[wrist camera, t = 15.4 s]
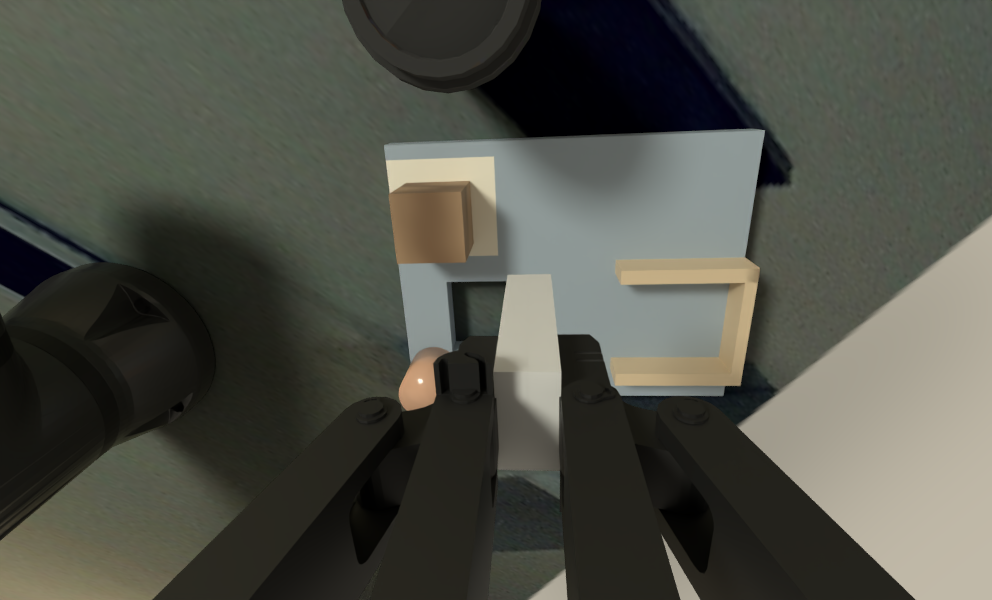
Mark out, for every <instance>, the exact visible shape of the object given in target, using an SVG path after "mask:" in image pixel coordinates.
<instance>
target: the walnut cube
mask: <svg viewBox="0 0 992 600" xmlns="http://www.w3.org/2000/svg"><path fill="white" fill-rule="evenodd" d="M389 201H390V209H391V217H392V226H393V234H394V242H395V250H396V258H397V264H417V263H466V261H467V259H468V256H469V254H470V251H471V249H472V247H473V244H474V240H473V224H472V207H471V191H470V181H450V182H419V183H405V184H404V185H402V186H401V187H399V188H397V189H396V190H394V191H393V192H391V193H390V194H389Z"/></svg>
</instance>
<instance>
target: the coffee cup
mask: <svg viewBox="0 0 992 600" xmlns="http://www.w3.org/2000/svg"><path fill="white" fill-rule="evenodd" d="M342 2H343V7H344V11H345V13H346V15H347V17H348V19H349V22H350V24H351V26H352V28H353V30H354V32H355V34H356V36H357V38H358V39H359V41H360V42H361V43H362V45H363V46H364V47H365V48H366V50H367V51H368V52H369V53H370V55H371V56H372V57H373V58H374V60H375V61H377V62H378V63H379V64H380V65H382V66H383V67H384V68H386V69H387V70H388V71H389V72H391V73H392V74H393V75H395V76H396V77H397V78H399V79H400V80H401V81H404V82H406V83H408V84H411V85H413V86H415V87H418V88H420V89H422V90H426V91H434V92H443V93H453V92H459V91H465V90H471V89H474V88H476V87H478V86H480V85H482V84H484V83H486V82H488V81H490V80H492V79H494V78H496V77H497V76H498V75H499V74H500V73H501V72H502V71H504V70H505V69H506V68H507V67H508V66H509V65H510V64H512V63H513V62H514V61H515V59H516V58H517V56H518V55H519V53H520V52H521V50H522V49H523V47H524V46H525V44H526V43H527V41H528V40H529V39H530V36H531V33H532V31H533V28H534V25H535V23H536V20H537V17H538V15H539V12H540V6H541V0H342Z"/></svg>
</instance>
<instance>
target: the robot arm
mask: <svg viewBox="0 0 992 600" xmlns="http://www.w3.org/2000/svg"><path fill="white" fill-rule="evenodd" d="M433 368H434V378H435V388H436V397H435V400H434V403H433V404H430V405H428V406H426V407H422V408H419V409H414V410H409V411H404V412H402V409H401V405H400V404H399V403H398V402H397V401H396V400H394V399H391V398H388V397H371V398H366V399H363V400H361V401H358V402H356V403H354V404H352V405H351V406H349V407H348V408H347V409H345V410H344V411H343V412H342V413H341V414H340V415H339V416H338V417H337V418H336V419H335V420H334V421H333V422H332V423H331V424H330V425H329V426H328V427H327V428H326V429H325V430H324V431H323V432H322V433H321V434H320V435H319V436H318V437H317V438H316V439H315V440H314V441H313V442H312V443H311V444H310V445H309V446H308V447H307V448H306V449H305V450H304V451H303V452H302V453H301V454H300V455H299V456H298V457H297V458H296V459H295V460H294V461H293V462H292V463H291V464H290V465H289V466H287V467H286V468H285V469H284V470H283V471H282V472H281V473H280V474H279V475H278V476H277V477H276V478H275V479H274V480H273V481H272V482H271V483H270V484H269V485H268V486H267V487H266V488H265V489H264V490H263V491H262V492H261V493H260V494H259V495H258V496H257V497H256V498H255V499H254V500H253V501H252V502H251V503H250V504H249V505H248V506H247V507H246V508H245V509H244V510H243V511H242V512H241V513H240V514H239V515H238V516H237V517H236V518H235V519H234V520H233V521H232V522H231V523H230V524H229V525H228V526H227V527H226V528H225V529H224V530H223V531H222V532H221V533H219V534H218V535H217V536H216V537H215V538H214V539H213V540H212V541H211V542H210V543H209V544H208V545H207V546H206V547H205V548H204V549H203V550H202V551H201V552H200V553H199V554H198V555H197V556H196V557H195V558H194V559H193V560H192V561H191V562H190V563H189V564H188V565H187V566H186V567H185V568H184V569H183V570H182V571H181V572H180V573H179V574H178V575H177V576H176V577H175V578H174V579H173V580H172V581H171V582H170V583H169V584H168V585H167V586H166V587H165V588H164V589H163V590H162V591H161V592H160V593H159V594H158V595H157V596H156V597H155V598H154V599H153V600H358V599H359V597H360V596H361V594H362V592H363V591H364V589H365V587H366V586H367V584H368V582H369V581H370V579H371V577H372V576H373V574H374V572H375V571H376V569H377V567H378V566H379V564H380V563H381V561H382V563H381V566H380V569H379V573H378V576H377V579H376V582H375V585H374V588H373V591H372V594H371V597H370V600H488V593H489V582H490V570H491V559H492V547H493V536H494V524H495V513H496V502H497V490H498V478H497V464H498V470H543V471H560V512H562V523H563V538H564V553H565V568H566V583H567V597H568V600H680V597H679V593H678V590H677V587H676V583H675V580H674V576H673V573H672V570H671V566H670V563H669V559H668V556H667V553H666V550H665V546H664V543H663V539H662V536H663V537H664V539H665V541H666V542H667V544H668V546H669V548H670V549H671V551H672V552H673V554H674V556H675V558H676V559H677V561H678V563H679V564H680V566H681V568H682V569H683V571H684V573H685V574H686V576H687V578H688V579H689V581H690V583H691V584H692V586H693V588H694V589H695V591H696V593H697V594H698V596H699V598H700V600H915V599H914V598H913V597H912V596H911V595H910V594H909V593H908V592H907V591H906V590H905V589H904V588H903V587H902V586H901V585H900V584H899V583H898V582H897V581H896V580H895V579H893V578H892V576H890V575H889V574H888V573H887V572H886V571H885V570H884V569H883V568H882V567H881V566H880V565H879V564H878V563H877V562H876V561H875V560H874V559H873V558H872V557H871V556H870V555H869V554H868V553H866V551H864V549H863V548H862V547H861V546H860V545H859V544H858V543H856V542H855V541H854V540H853V539H852V538H851V537H850V536H849V535H848V534H847V533H846V532H845V531H844V530H843V529H842V528H841V527H840V526H839V525H838V524H837V523H836V522H835V521H834V520H833V519H832V518H831V517H830V516H829V515H828V514H826V513H825V512H824V511H823V510H822V509H821V508H820V507H819V506H818V505H817V504H816V503H815V502H814V501H813V500H812V499H811V498H810V497H809V496H808V495H807V494H806V493H805V492H804V491H803V490H802V489H801V488H800V487H799V486H798V485H797V484H795V482H794V481H792V480H791V479H790V478H789V477H788V476H787V475H786V474H785V473H784V472H783V471H782V470H781V469H780V468H779V467H778V466H777V465H776V464H775V463H774V462H773V461H772V460H771V459H770V458H769V457H768V456H767V455H765V453H763V451H761V450H760V449H759V448H758V447H757V446H756V445H755V444H754V443H753V442H752V441H751V440H750V439H749V438H748V437H747V436H746V435H745V434H744V433H743V432H742V431H741V430H740V429H739V428H738V427H737V426H736V425H735V424H734V423H733V422H732V421H731V420H730V419H729V418H728V417H726V416H725V415H724V414H723V413H722V412H721V411H720V410H719V409H718V408H716V407H715V406H714V405H712V404H711V403H708V402H706V401H703V400H701V399H698V398H694V397H688V396H675V397H671V398H667V399H664V400H663V401H662V402H661V403H659V404H658V408H657V412H656V411H651V410H646V409H642V408H638V407H634V406H632V405H629V404H627V403H625V402H623V401H622V399H621V396H620V394H619V392H618V391H617V389H616V388H614V387H613V386H611V384H610V380H609V377H608V373H607V369H606V366H605V362H604V359H603V355H602V351H601V348H600V344H599V342H598V341H597V340H596V339H595V338H593V337H592V336H591V335H590V334H557V326H556V317H555V307H554V298H553V288H552V279H551V274H526V275H507V282H506V289H505V296H504V302H503V309H502V316H501V323H500V330H499V336H469V337H468V338H467V339H465V340H464V341H463V342H462V343H461V344H460V346H459V349H458V350H456V351H452V352H449V353H445V354H443V355H442V356H440V357H438V358H437V359H436V360H435V362H434V363H433ZM214 370H215V358H214V351H213V346H212V343H211V340H210V337H209V334H208V332H207V330H206V328H205V326H204V324H203V322H202V321H201V319H200V318H199V316H198V315H197V313H196V312H195V311H194V309H193V308H192V307H191V306H190V305H189V303H188V302H187V301H186V300H185V299H184V298H183V297H182V296H181V295H180V294H178V293H177V292H176V291H175V290H174V289H172V288H171V287H170V286H168V285H167V284H166V283H164V282H163V281H161V280H159V279H158V278H156V277H154V276H152V275H150V274H148V273H146V272H144V271H142V270H139V269H136V268H133V267H130V266H126V265H122V264H116V263H105V262H100V263H90V264H85V265H81V266H78V267H76V268H73V269H70V270H67V271H65V272H62V273H59V274H57V275H54V276H52V277H51V278H49V279H47V280H45V281H44V282H42V283H41V284H40V285H38V286H37V287H36V288H35V289H34V290H33V291H32V292H30V293H29V294H28V295H27V296H26V297H25V298H24V299H22V300H21V301H20V302H19V303H18V304H17V305H16V306H14V307H13V308H12V309H11V310H10V311H9V312H8V313H6V314H5V315H4V316H3V317H2V316H1V314H0V540H2V539H3V538H4V537H5V536H6V535H8V534H9V533H10V532H11V531H12V530H14V529H15V528H16V527H17V526H18V525H20V524H21V523H22V522H23V521H24V520H25V519H27V518H28V517H29V516H30V515H31V514H33V513H34V512H35V511H36V510H37V509H39V508H40V507H41V506H42V505H43V504H44V503H46V502H47V501H48V500H49V499H50V498H52V497H53V496H54V495H55V494H56V493H58V492H59V491H60V490H61V489H62V488H64V487H65V486H66V485H67V484H68V483H69V482H71V481H72V480H73V479H74V478H75V477H77V476H78V475H79V474H80V473H81V472H83V471H84V470H85V469H86V468H87V467H89V466H90V465H91V464H92V463H93V462H94V461H95V460H97V459H98V458H99V457H100V456H102V455H103V454H104V453H105V452H107V451H108V450H109V449H111V448H112V447H114V446H116V445H119V444H121V443H123V442H126V441H128V440H131V439H133V438H136V437H138V436H140V435H143V434H145V433H148V432H150V431H153V430H155V429H157V428H160V427H162V426H165V425H167V424H169V423H171V422H173V421H175V420H177V419H178V418H180V417H181V416H183V415H184V414H185V413H186V412H187V411H189V410H190V409H191V408H192V407H193V406H194V405H195V404H196V403H198V402H199V401H200V400H201V399H202V398H203V396H204V395H205V394H206V392H207V391H208V389H209V387H210V385H211V383H212V380H213V376H214ZM661 534H662V535H661ZM382 559H383V560H382Z"/></svg>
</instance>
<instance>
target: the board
mask: <svg viewBox="0 0 992 600" xmlns="http://www.w3.org/2000/svg"><path fill="white" fill-rule="evenodd" d="M764 132H765V130H758V129H734V130H708V131H683V132H658V133H633V134H607V135H582V136H557V137H532V138H506V139H481V140H456V141H430V142H405V143H390V144H387V145H384V149H385V157H386V165H387V173H388V182H389V190H390V193H391V192H393V191H394V190H396V189H397V188H399V187H401V186H402V185H404V184H405V183H419V182H450V181H470V191H471V207H472V224H473V240H474V244H473V247H472V249H471V251H470V254H469V256H468V259H467V261H466V263H417V264H399V271H400V279H401V288H402V296H403V304H404V312H405V320H406V328H407V336H408V345H409V353H410V361H411V362H412V360H413V358H414V356H415V355H416V354H417V353H418V352H419V351H421V350H422V349H425V348H428V347H439V348H443V349H445V350H447V351H449V352H452V351H456V350H458V349H459V346H460V344H461V343H462V342H463V341H456V334H455V322H454V310H453V298H452V285H451V282H480V281H507V275H526V274H551V279H552V288H553V298H554V307H555V317H556V326H557V334H590V335H591V336H592V337H593V338H595V339H596V340H597V341H598V342H599V344H600V348H601V351H602V355H603V359H604V362H605V366H606V369H607V373H608V377H609V380H610V384H611V386H613V387H614V388H616V389H617V391H618V392H619V394H620V396H723V395H724V389H725V386H740V385H741V379H742V373H743V367H744V362H745V356H746V350H747V344H748V338H749V332H750V326H751V320H752V314H753V309H754V303H755V297H756V291H757V285H758V279H759V273H760V268H759V267H758V266H756V265H755V264H753V263H752V262H751V261H749V260H748V259H747V258H745V254H746V248H747V241H748V235H749V229H750V222H751V216H752V209H753V203H754V197H755V190H756V184H757V177H758V171H759V164H760V158H761V152H762V145H763V139H764Z"/></svg>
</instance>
